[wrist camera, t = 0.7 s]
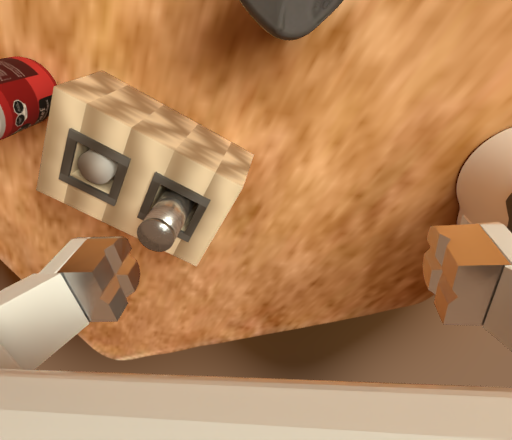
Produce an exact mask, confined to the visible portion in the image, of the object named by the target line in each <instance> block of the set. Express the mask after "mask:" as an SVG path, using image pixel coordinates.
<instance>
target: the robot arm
mask: <svg viewBox="0 0 512 440" xmlns="http://www.w3.org/2000/svg"><path fill="white" fill-rule="evenodd" d="M457 198H458V201H459V206H460V211H459V214H458V218H457V225H441V226H431V227H430V229H429V231H428V236H427V241H428V243H429V245H430V247H431V248H430V249H429V250H427V251H426V252H425V253H424V258H423V276H424V280H425V283H426V286H427V288H428V290H430V291H431V292H432V293H434V294H435V300H434V304H435V307H436V309H437V311H438V314H439V316H440V318H441V321H442V323H443V324H446V325H476V326H483V328H484V329H485V330H486V331H488V332H489V333H490V334H491V335H492V336H494V337H495V338H496V339H497V340H498V341H500V342H501V343H502V344H503V345H505V346H506V347H507V348H508V349H509V350H510V351H512V128H509V129H506V130H504V131H502V132H500V133H498V134H496V135H495V136H493V137H491V138H490V139H488V140H487V141H486V142H484V143H483V144H482V145H481V146H479V147H478V148H477V149H476V150H475V151H474V152H473V153H472V155H471V156H470V157H469V158H468V160H467V161H466V162H465V164H464V166H463V168H462V169H461V172H460V174H459V177H458V181H457ZM131 249H132V248H131V246H130V243H129V241H128V239H126V238H124V237H79V238H74V239H71V240H70V241H69V242H68V243H67V244H66V245H65V246H64V248H63V249H62V250H61V251H60V252H59V253H58V254H57V255H56V256H55V257H54V258H53V259H52V260H51V261H50V262H49V263H48V264H47V265H46V266H45V267H44V268H43V269H42V270H41V271H40V272H39V273H38V274H32V275H30V276H28V277H26V278H24V279H22V280H20V281H18V282H16V283H15V284H13V285H11V286H9V287H7V288H5V289H3V290H1V291H0V440H512V387H486V386H485V387H484V386H459V385H458V386H457V385H433V384H406V383H378V382H351V381H324V380H296V379H294V380H293V379H269V378H243V377H216V376H188V375H187V376H186V375H161V374H133V373H107V372H80V371H52V370H35V369H36V368H37V367H38V366H39V365H41V364H42V363H43V362H44V361H45V360H47V359H48V358H49V357H50V356H51V355H53V354H54V353H55V352H56V351H57V350H59V349H60V348H61V347H62V346H63V345H64V344H66V343H67V342H68V341H69V340H70V339H72V338H73V337H74V336H75V335H76V334H78V333H79V332H80V331H81V330H82V329H84V328H85V327H86V326H87V325H88V324H89V322H113V321H118V320H119V318H120V316H121V314H122V313H123V311H124V309H125V307H126V306H127V304H128V302H127V298H126V297H128V296H129V295H130V294H132V293H133V292H135V290H136V288H137V286H138V284H139V279H140V269H139V265H138V262H137V260H136V259H135V258H133V257H132V256H131V255H130V251H131Z"/></svg>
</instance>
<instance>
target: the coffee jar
mask: <svg viewBox="0 0 512 440" xmlns="http://www.w3.org/2000/svg"><path fill="white" fill-rule="evenodd" d="M239 1H240V2H241V4H242V5H243V7H244V8H245V9H246V10H247V12H248V13H249V14H250V15H251V17H252V18H253V19H254V20H255V21H256V22H257V23H258V24H259V25H260V26H261V27H262V28H263V29H264V30H265V31H266V32H268V33H269V34H270V35H272V36H273V37H275V38H278V39H281V40H295V39H299V38H301V37H303V36H305V35H307V34H309V33H310V32H311V31H313V30H314V29H315V28H316V27H317V26H318V25H319V24H320V23H322V22H323V21H324V20H325V19H326V18H327V17H328V16H329V15H330V14H331V13H332V12H333V11H335V9H336V8H337V7H338V6H339V5H340V4H341V3H342V1H343V0H239Z"/></svg>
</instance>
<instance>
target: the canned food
mask: <svg viewBox="0 0 512 440" xmlns="http://www.w3.org/2000/svg"><path fill="white" fill-rule="evenodd" d="M56 85H57V84H56V82H55V80H54V79H53V77H52V76H51V74H50V73H49V72H48V71H47V70H46V69H45V68H44V67H43V66H42V65H41V64H39V63H37V62H36V61H34V60H31V59H28V58H24V57H9V58H3V59H0V140H1V139H4V138H6V137H8V136H11V135H13V134H15V133H17V132H19V131H22V130H24V129H26V128H28V127H30V126H33V125H35V124H37V123H39V122H42V121H44V120H46V119H48V117H49V112H50V106H51V100H52V94H53V88H54V86H56Z"/></svg>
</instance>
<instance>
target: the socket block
mask: <svg viewBox="0 0 512 440" xmlns="http://www.w3.org/2000/svg"><path fill="white" fill-rule="evenodd" d="M253 156H254V154H252V153H250V152H248V151H247V150H245V149H243V148H241V147H239V146H238V145H236V144H234V143H232V142H230V141H229V140H227V139H225V138H223V137H221V136H220V135H218V134H216V133H214V132H212V131H211V130H209V129H207V128H205V127H203V126H202V125H200V124H198V123H196V122H194V121H193V120H191V119H189V118H187V117H185V116H184V115H182V114H180V113H178V112H176V111H175V110H173V109H171V108H169V107H167V106H166V105H164V104H162V103H160V102H158V101H157V100H155V99H153V98H151V97H149V96H148V95H146V94H144V93H142V92H140V91H139V90H137V89H135V88H133V87H131V86H130V85H128V84H126V83H124V82H122V81H121V80H119V79H117V78H115V77H113V76H112V75H110V74H108V73H106V72H104V71H100V72H96V73H93V74H90V75H87V76H84V77H81V78H78V79H75V80H72V81H69V82H66V83H63V84H60V85H56V86H54V88H53V94H52V100H51V106H50V112H49V117H48V123H47V129H46V135H45V141H44V147H43V153H42V159H41V165H40V171H39V177H38V183H37V189H36V190H37V191H39V192H41V193H43V194H45V195H48V196H50V197H52V198H54V199H56V200H58V201H60V202H62V203H64V204H66V205H68V206H71V207H73V208H75V209H77V210H79V211H81V212H83V213H85V214H87V215H89V216H92V217H94V218H96V219H98V220H100V221H102V222H104V223H106V224H108V225H110V226H113V227H115V228H117V229H119V230H121V231H123V232H125V233H127V234H129V235H131V236H134V237H136V238H138V236H137V229H138V227H139V225H140V224H141V222H142V221H143V220H144V218H145V217H146V216H147V214H148V213H149V212H150V210H151V209H152V208H153V206H154V205H155V204H156V202H157V201H158V200H159V198H160V197H161V196H162V194H163V193H164V192H165V190H166V189H167V188H169V189H171V190H173V191H174V192H176V193H178V194H180V195H182V196H184V197H186V198H188V199H190V200H192V201H194V202H196V203H195V205H194V207H193V208H192V210H191V212H190V214H189V216H188V217H187V219H186V221H185V223H184V225H183V227H182V228H181V230H180V232H179V234H178V236H177V238H176V239H175V241H174V243H173V245H172V246H171V248H170V249H168V250H166V251H165V252H167V253H169V254H171V255H173V256H175V257H178V258H180V259H182V260H184V261H186V262H188V263H190V264H192V265H194V266H196V267H197V265H198V263H199V261H200V260H201V258H202V256H203V255H204V253H205V251H206V250H207V248H208V246H209V244H210V243H211V241H212V239H213V238H214V236H215V234H216V233H217V231H218V229H219V227H220V226H221V224H222V222H223V221H224V219H225V217H226V215H227V214H228V212H229V210H230V209H231V207H232V205H233V204H234V202H235V200H236V198H237V197H238V195H239V193H240V192H241V190H242V188H243V186H244V183H245V180H246V177H247V174H248V171H249V168H250V165H251V162H252V159H253Z"/></svg>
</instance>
